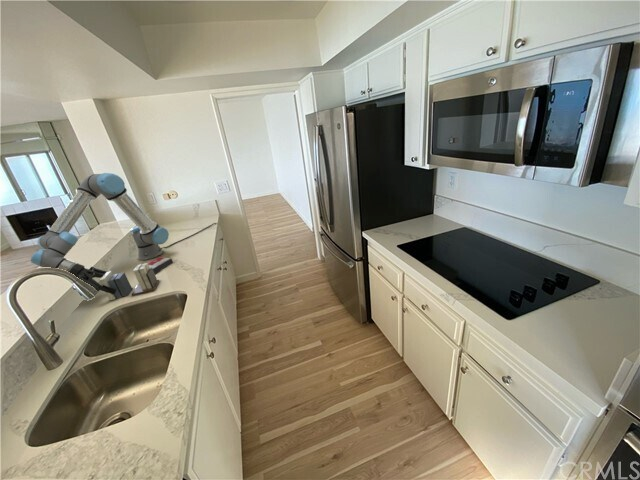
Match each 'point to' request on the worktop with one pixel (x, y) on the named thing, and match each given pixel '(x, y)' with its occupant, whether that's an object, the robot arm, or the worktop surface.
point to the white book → (107, 283)
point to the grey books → (120, 285)
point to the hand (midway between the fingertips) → (118, 287)
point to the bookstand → (145, 279)
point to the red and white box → (159, 264)
